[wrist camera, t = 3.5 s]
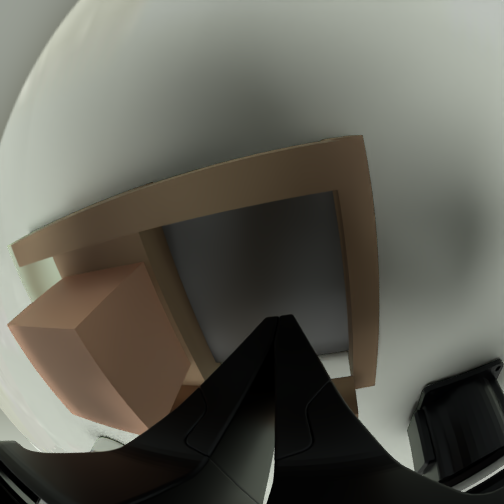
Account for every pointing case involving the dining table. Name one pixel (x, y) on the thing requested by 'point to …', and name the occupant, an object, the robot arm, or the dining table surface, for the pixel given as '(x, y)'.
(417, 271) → the dining table surface
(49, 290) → the block
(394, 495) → the robot arm
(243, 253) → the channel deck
